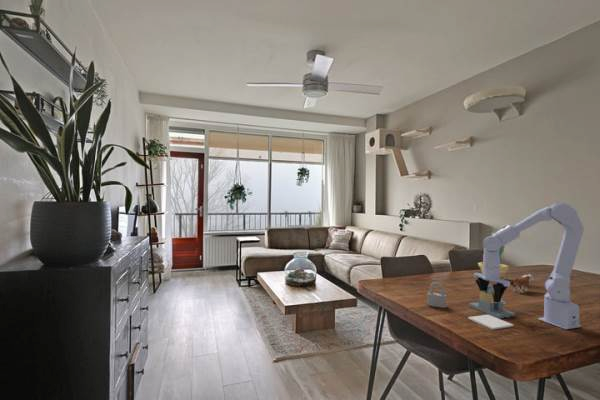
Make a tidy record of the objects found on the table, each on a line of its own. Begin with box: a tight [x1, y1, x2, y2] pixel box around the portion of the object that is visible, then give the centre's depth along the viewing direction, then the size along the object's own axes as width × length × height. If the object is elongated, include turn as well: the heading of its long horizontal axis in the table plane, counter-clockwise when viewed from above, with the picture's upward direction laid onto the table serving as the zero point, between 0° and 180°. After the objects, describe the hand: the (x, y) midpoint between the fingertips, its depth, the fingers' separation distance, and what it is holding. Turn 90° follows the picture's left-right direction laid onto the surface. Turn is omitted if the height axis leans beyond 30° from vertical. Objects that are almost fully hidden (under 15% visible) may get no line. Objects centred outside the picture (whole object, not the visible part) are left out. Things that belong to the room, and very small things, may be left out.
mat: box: [468, 314, 514, 331], centre depth 111 cm, size 10×10×1 cm
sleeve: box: [479, 289, 503, 303], centre depth 123 cm, size 6×6×4 cm
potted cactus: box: [477, 245, 510, 279], centre depth 177 cm, size 15×15×25 cm
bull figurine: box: [512, 273, 535, 294], centre depth 153 cm, size 4×13×8 cm, turn 112°
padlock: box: [426, 281, 447, 309], centre depth 128 cm, size 7×4×10 cm, turn 64°
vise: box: [468, 290, 516, 319], centre depth 124 cm, size 14×12×8 cm
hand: (490, 299), depth 123 cm, fingers closed on sleeve, 5 cm apart
